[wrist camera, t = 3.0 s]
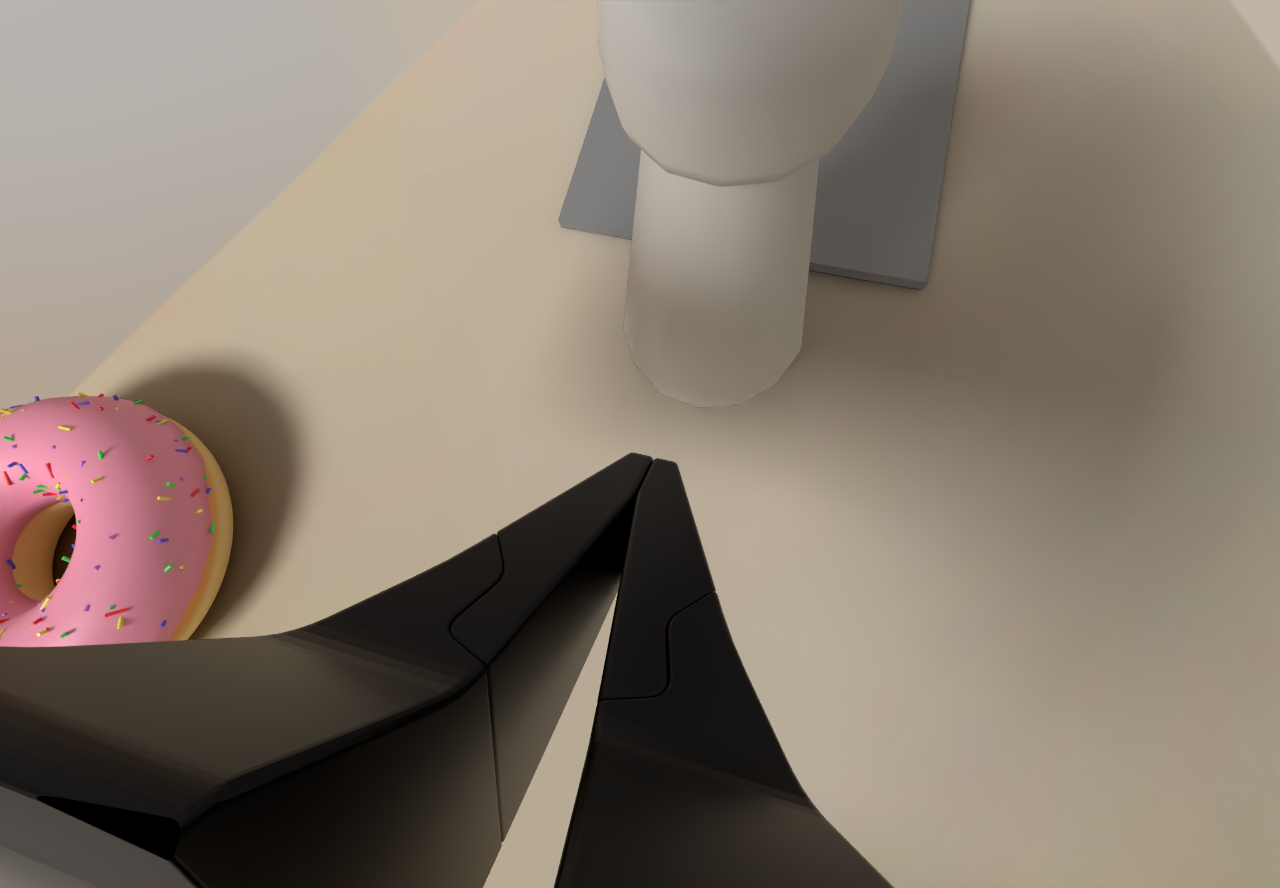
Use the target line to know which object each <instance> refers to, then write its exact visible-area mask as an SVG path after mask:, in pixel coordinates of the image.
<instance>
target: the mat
mask: <svg viewBox="0 0 1280 888" xmlns="http://www.w3.org/2000/svg"><path fill="white" fill-rule="evenodd" d="M969 3H970V0H903V7H902V12H901V16H900V21H899V25H898V30H897V35H896V39H895V44H894V49H893V53H892V57H891V59H890V62H889V64H888V66H887V68H886V70H885V72H884V74H883V76H882V78H881V80H880V82H879V84H878V86H877V88H876V90H875V92H874V95H873V97H872V98H871V99H870V101H869V102H868V103H867V105H866V106H865V107H864V109H863V110H862V111H861V113H860V114H859V115H858V117H857V118H856V119H855V121H854V122H853V123H852V125H851V126H850V127H849V129H848V130H847V131H846V133H845V134H844V135H843V137H842V138H841V139H840V141H839V142H838V143H837V144H836V145H835V146H834V147H833V149H832V150H831V151H830V152H829V153H828V154H827V155H825V156H823V157H821V158H820V159H819V168H818V179H817V189H816V200H815V210H814V221H813V231H812V242H811V253H810V263H809V270H810V271H816V272H822V273H827V274H833V275H839V276H845V277H850V278H856V279H862V280H868V281H873V282H879V283H885V284H891V285H897V286H902V287H908V288H914V289H920V290H921V289H922V288H923V287H924V285H925V284H926V283H927V280H928V273H929V267H930V260H931V254H932V247H933V240H934V234H935V227H936V221H937V214H938V207H939V201H940V194H941V188H942V181H943V174H944V168H945V161H946V155H947V148H948V141H949V135H950V128H951V122H952V115H953V108H954V102H955V95H956V89H957V82H958V75H959V69H960V62H961V56H962V49H963V42H964V36H965V29H966V23H967V16H968V9H969ZM640 154H641V149H640V148H639V147H638V146H637V145H636V144H634V143H633V142H632V141H631V140H630V139H629V137H628V135H627V134H626V132H625V130H624V129H623V127H622V125H621V122H620V119H619V116H618V113H617V111H616V108H615V105H614V102H613V99H612V97H611V94H610V91H609V88H608V85H607V83H606V79H605V78H604V81H603V84H602V88H601V91H600V94H599V97H598V100H597V103H596V106H595V109H594V112H593V115H592V118H591V121H590V124H589V127H588V130H587V133H586V136H585V140H584V143H583V146H582V149H581V152H580V155H579V158H578V161H577V164H576V167H575V170H574V173H573V176H572V179H571V182H570V185H569V189H568V192H567V195H566V198H565V201H564V204H563V207H562V210H561V213H560V216H559V222H560V225H561V227H562V228H568V229H573V230H579V231H585V232H591V233H597V234H602V235H608V236H614V237H620V238H625V239H631V240H632V235H633V225H634V215H635V205H636V195H637V185H638V175H639V164H640Z"/></svg>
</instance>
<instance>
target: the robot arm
mask: <svg viewBox="0 0 1280 888" xmlns="http://www.w3.org/2000/svg"><path fill="white" fill-rule="evenodd" d="M617 591H618V595H617V600H616V605H615V611H614V616H613V621H612V627H611V632H610V637H609V643H608V648H607V653H606V659H605V664H604V669H603V675H602V680H601V685H600V691H599V696H598V702H597V707H596V712H595V717H594V722H593V727H592V732H591V737H590V742H589V746H588V751H587V755H586V759H585V763H584V767H583V771H582V775H581V779H580V784H579V788H578V792H577V796H576V800H575V804H574V808H573V812H572V816H571V820H570V824H569V828H568V832H567V836H566V840H565V844H564V848H563V852H562V856H561V860H560V864H559V869H558V873H557V877H556V881H555V885H554V888H894V887H893V886H892V885H891V884H890V883H889V882H888V881H887V880H886V879H885V878H884V877H883V876H882V875H881V874H880V873H879V872H878V871H877V870H876V869H875V868H874V867H873V866H872V865H871V864H870V863H869V862H868V861H867V860H866V859H865V858H864V857H863V856H862V855H861V854H860V853H859V852H858V851H857V850H856V849H855V848H854V847H853V846H852V845H851V844H850V843H849V842H848V841H847V840H846V839H845V838H844V837H843V836H842V835H841V834H840V833H839V832H838V831H837V830H836V829H835V828H834V827H833V826H832V825H831V824H830V823H829V822H828V821H827V820H826V818H825V817H824V816H823V815H822V814H821V813H820V812H819V810H818V809H817V808H816V807H815V805H814V804H813V803H812V801H811V800H810V798H809V797H808V795H807V794H806V793H805V791H804V790H803V788H802V786H801V785H800V783H799V781H798V780H797V778H796V776H795V774H794V772H793V770H792V768H791V766H790V764H789V762H788V760H787V758H786V756H785V754H784V752H783V750H782V748H781V745H780V743H779V741H778V739H777V737H776V735H775V733H774V731H773V728H772V726H771V724H770V722H769V720H768V718H767V716H766V713H765V711H764V709H763V707H762V705H761V703H760V701H759V698H758V696H757V694H756V692H755V690H754V688H753V686H752V683H751V681H750V679H749V677H748V675H747V673H746V670H745V668H744V666H743V663H742V661H741V659H740V656H739V654H738V652H737V650H736V647H735V645H734V643H733V640H732V637H731V634H730V632H729V629H728V626H727V623H726V620H725V617H724V614H723V611H722V608H721V605H720V602H719V598H718V595H717V593H715V592H716V589H715V586H714V583H713V579H712V576H711V573H710V570H709V566H708V563H707V560H706V557H705V553H704V550H703V547H702V543H701V540H700V537H699V534H698V530H697V527H696V524H695V521H694V517H693V514H692V511H691V507H690V504H689V501H688V498H687V494H686V491H685V488H684V484H683V481H682V478H681V475H680V471H679V468H678V465H677V464H676V463H675V462H672V461H667V460H663V459H659V458H656V459H654V460H653V458H652V457H650V456H646V455H642V454H637V453H630V454H628V455H626V456H624V457H623V458H621V459H619V460H618V461H616V462H614V463H612V464H611V465H609V466H607V467H606V468H604V469H602V470H601V471H599V472H597V473H596V474H594V475H592V476H591V477H589V478H587V479H585V480H584V481H582V482H580V483H579V484H577V485H575V486H574V487H572V488H570V489H569V490H567V491H565V492H564V493H562V494H560V495H558V496H557V497H555V498H553V499H552V500H550V501H548V502H547V503H545V504H543V505H542V506H540V507H538V508H537V509H535V510H533V511H531V512H530V513H528V514H526V515H525V516H523V517H521V518H520V519H518V520H516V521H515V522H513V523H511V524H510V525H508V526H506V527H504V528H503V529H501V530H499V531H498V532H497V535H496V534H492V535H491V536H489V537H487V538H486V539H484V540H482V541H480V542H479V543H477V544H475V545H474V546H472V547H470V548H468V549H466V550H465V551H463V552H461V553H459V554H457V555H456V556H454V557H452V558H450V559H448V560H447V561H445V562H443V563H441V564H438V565H436V566H434V567H432V568H430V569H428V570H426V571H424V572H422V573H420V574H418V575H416V576H414V577H412V578H410V579H408V580H406V581H404V582H402V583H399V584H397V585H395V586H393V587H391V588H389V589H387V590H385V591H382V592H380V593H378V594H376V595H374V596H372V597H370V598H368V599H365V600H363V601H361V602H359V603H357V604H355V605H353V606H351V607H348V608H346V609H344V610H342V611H340V612H338V613H336V614H334V615H331V616H329V617H327V618H325V619H322V620H320V621H318V622H315V623H313V624H310V625H307V626H304V627H301V628H298V629H295V630H291V631H287V632H283V633H279V634H272V635H266V636H257V637H240V638H220V639H200V640H179V641H159V642H139V643H119V644H99V645H79V646H56V647H9V646H0V888H483V886H484V884H485V882H486V879H487V877H488V875H489V873H490V871H491V868H492V866H493V864H494V862H495V860H496V857H497V855H498V853H499V851H500V849H501V846H502V844H501V842H503V841H504V839H505V837H506V835H507V833H508V831H509V829H510V826H511V824H512V822H513V820H514V818H515V815H516V813H517V811H518V809H519V807H520V804H521V802H522V800H523V798H524V796H525V793H526V791H527V789H528V787H529V785H530V782H531V780H532V778H533V776H534V774H535V771H536V769H537V767H538V765H539V763H540V760H541V758H542V756H543V754H544V752H545V749H546V747H547V745H548V743H549V741H550V738H551V736H552V734H553V732H554V730H555V727H556V725H557V723H558V721H559V719H560V716H561V714H562V712H563V710H564V708H565V705H566V703H567V701H568V699H569V697H570V695H571V692H572V690H573V688H574V686H575V684H576V681H577V679H578V677H579V675H580V673H581V670H582V668H583V666H584V664H585V662H586V659H587V657H588V655H589V653H590V651H591V648H592V646H593V644H594V642H595V640H596V637H597V635H598V633H599V631H600V629H601V626H602V624H603V622H604V620H605V618H606V615H607V613H608V611H609V609H610V607H611V604H612V602H613V600H614V598H615V596H616V593H617Z"/></svg>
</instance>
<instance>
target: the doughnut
mask: <svg viewBox="0 0 1280 888" xmlns="http://www.w3.org/2000/svg"><path fill="white" fill-rule="evenodd" d="M78 395H79V396H72V397H60V398H50V399H44V400H39V397H38V396H36V397H34V398H35V402H32V403H29V404H25V405H19V406H13V407H10V409H2V410H1V411H0V646H9V647H56V646H79V645H99V644H119V643H139V642H159V641H179V640H188V639H189V637H190V636H191V635H192V634H193V632H194V631H195V630H196V628H197V627H198V626H199V624H200V623H201V621H202V620H203V618H204V617H205V615H206V614H207V612H208V610H209V608H210V607H211V605H212V603H213V601H214V599H215V597H216V595H217V593H218V591H219V588H220V586H221V583H222V581H223V578H224V575H225V572H226V569H227V565H228V562H229V557H230V552H231V547H232V538H233V511H232V503H231V498H230V493H229V490H228V486H227V483H226V480H225V478H224V475H223V473H222V471H221V469H220V467H219V465H218V463H217V461H216V460H215V458H214V457H213V455H212V454H211V452H210V451H209V450H208V449H207V447H206V446H205V445H204V444H203V443H202V442H201V441H200V440H199V439H198V438H197V437H196V436H195V435H194V434H193V433H192V432H190V431H189V430H188V429H186V428H185V427H183V426H182V425H180V424H179V423H177V422H176V421H174V420H172V419H170V418H168V417H165V416H163V415H162V414H160V413H159V412H157V411H155V410H154V409H152V408H150V407H148V406H146V405H143V404H141V402H143V401H142V400H141V399H140V400H138V401H136V402H135V401H130V400H125V399H118V397H117V396H116V395H114V396H113V398H110V397H103V396H104V394H100V395H99V396H98V397H97V396H88V395H85V394H83V393H79V394H78ZM74 514H75V517H76V525H73V526H72V527H73V528H74V529H76V530H77V531H76V542H75V544H72V547H73V548H74V551H73V554H72V557H71V559H70V558H67V557H65V556H64V557H62V558H61V559H62V560H64V561H67V562H70V563H69V565H68V567H67V569H66V571H65V573H64V575H63V577H62V578H61V579H57V580H56V583H57V586H56V587H55V586H54V583H53V576H52V564H53V557H54V552H55V548H56V545H57V542H58V540H59V537H60V535H61V533H62V531H63V529H64V528H65V526H66V524H67V523H68V521H69V520H70V519H71V517H72V516H73V515H74Z"/></svg>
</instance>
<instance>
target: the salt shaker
mask: <svg viewBox="0 0 1280 888" xmlns="http://www.w3.org/2000/svg"><path fill="white" fill-rule="evenodd" d="M902 7H903V0H597V43H598V48H599V52H600V57H601V61H602V66H603V70H604V75H605V79H606V83H607V85H608V88H609V91H610V94H611V97H612V99H613V102H614V105H615V108H616V111H617V113H618V116H619V119H620V122H621V125H622V127H623V129H624V130H625V132H626V134H627V135H628V137H629V139H630V140H631V141H632V142H633V143H634V144H636V145H637V146H638V147H639V148H640V149H641V154H640V164H639V175H638V185H637V195H636V205H635V215H634V225H633V235H632V245H631V255H630V265H629V275H628V285H627V295H626V305H625V315H624V325H623V329H624V332H625V335H626V339H627V342H628V345H629V348H630V351H631V355H632V358H633V361H634V363H635V365H636V366H637V368H638V369H639V370H640V371H641V372H642V373H643V374H644V375H645V376H646V377H647V378H648V379H649V380H650V381H651V382H652V384H653V385H654V386H655V387H656V388H657V389H658V390H659V391H660V392H661V393H662V394H663V395H665V396H668V397H671V398H674V399H677V400H680V401H682V402H685V403H688V404H691V405H694V406H697V407H716V406H734V405H741V404H742V403H744V402H746V401H747V400H749V399H751V398H753V397H754V396H756V395H758V394H759V393H761V392H763V391H764V390H766V389H768V388H770V387H771V386H773V385H774V384H776V383H777V382H778V381H779V380H780V378H781V377H782V375H783V374H784V373H785V371H786V370H787V369H788V367H789V366H790V364H791V363H792V362H793V360H794V359H795V358H796V356H797V355H798V353H799V352H800V351H801V347H802V337H803V326H804V316H805V305H806V295H807V284H808V274H809V263H810V253H811V242H812V231H813V221H814V210H815V200H816V189H817V179H818V168H819V159H820V158H821V157H823V156H825V155H827V154H828V153H829V152H830V151H831V150H832V149H833V147H834V146H835V145H836V144H837V143H838V142H839V141H840V139H841V138H842V137H843V135H844V134H845V133H846V131H847V130H848V129H849V127H850V126H851V125H852V123H853V122H854V121H855V119H856V118H857V117H858V115H859V114H860V113H861V111H862V110H863V109H864V107H865V106H866V105H867V103H868V102H869V101H870V99H871V98H872V97H873V95H874V92H875V90H876V88H877V86H878V84H879V82H880V80H881V78H882V76H883V74H884V72H885V70H886V68H887V66H888V64H889V62H890V59H891V57H892V53H893V49H894V44H895V39H896V35H897V30H898V25H899V21H900V16H901V12H902Z"/></svg>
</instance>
